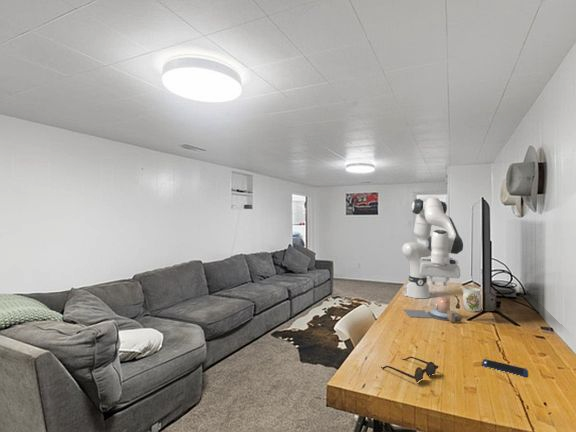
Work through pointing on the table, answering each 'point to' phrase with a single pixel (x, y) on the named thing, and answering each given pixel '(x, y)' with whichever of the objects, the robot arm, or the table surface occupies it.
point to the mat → (417, 313)
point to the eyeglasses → (418, 369)
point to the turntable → (450, 314)
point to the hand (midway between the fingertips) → (439, 284)
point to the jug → (443, 304)
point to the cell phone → (505, 367)
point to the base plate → (443, 318)
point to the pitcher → (471, 298)
